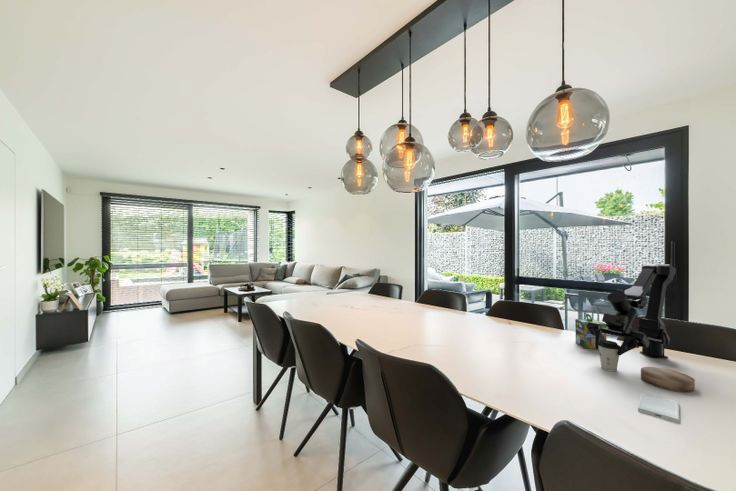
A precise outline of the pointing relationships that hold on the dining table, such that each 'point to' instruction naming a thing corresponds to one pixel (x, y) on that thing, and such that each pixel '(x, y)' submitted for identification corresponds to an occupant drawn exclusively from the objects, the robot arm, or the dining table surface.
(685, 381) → the podium
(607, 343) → the coffee cup
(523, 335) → the dining table surface
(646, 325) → the robot arm
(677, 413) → the hard drive
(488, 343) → the dining table surface
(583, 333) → the chalk box
